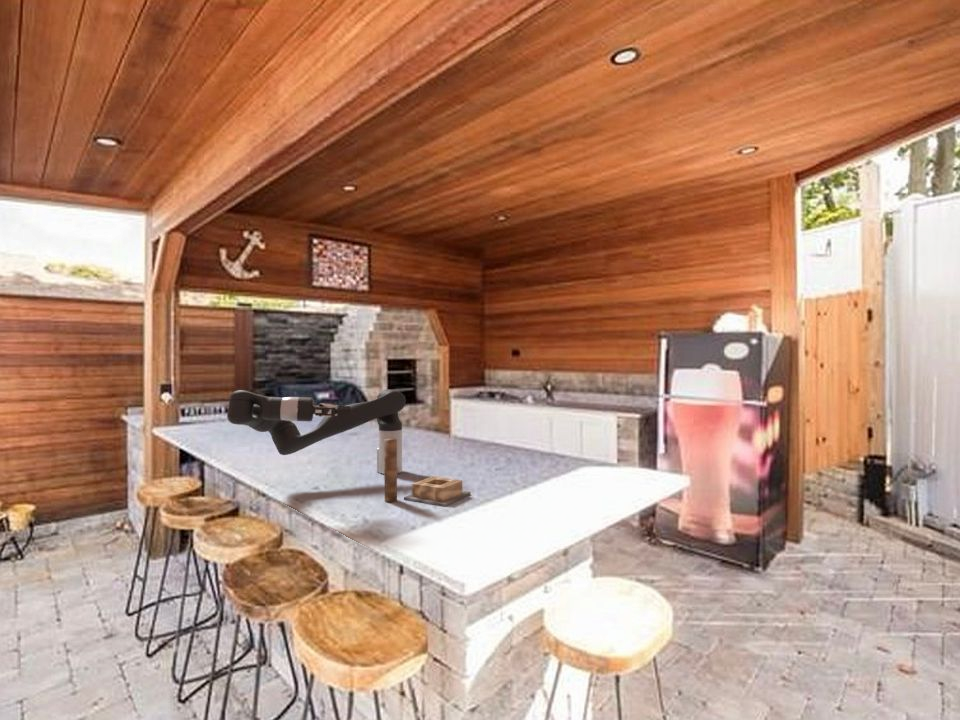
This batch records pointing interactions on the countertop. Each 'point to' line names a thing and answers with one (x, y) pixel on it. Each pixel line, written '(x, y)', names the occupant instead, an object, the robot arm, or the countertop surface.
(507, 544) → the countertop surface
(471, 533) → the countertop surface
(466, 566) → the countertop surface
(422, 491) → the socket block
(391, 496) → the peg
